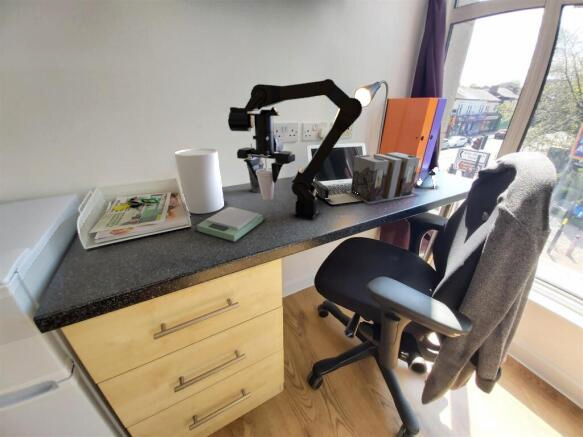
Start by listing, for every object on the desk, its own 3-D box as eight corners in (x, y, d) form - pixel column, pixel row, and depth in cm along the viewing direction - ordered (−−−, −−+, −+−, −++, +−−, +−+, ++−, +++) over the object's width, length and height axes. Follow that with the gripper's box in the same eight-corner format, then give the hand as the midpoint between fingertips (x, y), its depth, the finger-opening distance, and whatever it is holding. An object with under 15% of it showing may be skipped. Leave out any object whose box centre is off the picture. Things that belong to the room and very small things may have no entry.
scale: (263, 220, 78) (263, 212, 77) (234, 241, 66) (233, 233, 64) (229, 212, 83) (229, 205, 82) (197, 230, 71) (195, 222, 70)
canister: (188, 201, 93) (178, 149, 84) (224, 198, 96) (217, 147, 87) (183, 215, 81) (170, 156, 72) (224, 211, 84) (216, 154, 75)
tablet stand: (418, 182, 116) (422, 165, 113) (436, 185, 112) (441, 167, 109) (415, 186, 110) (419, 169, 106) (434, 190, 106) (439, 171, 102)
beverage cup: (262, 193, 101) (259, 145, 92) (246, 192, 103) (242, 144, 94) (267, 188, 108) (265, 142, 99) (252, 187, 109) (248, 142, 100)
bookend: (416, 195, 100) (425, 156, 93) (368, 203, 91) (375, 161, 84) (389, 184, 113) (395, 150, 106) (345, 191, 104) (349, 154, 97)
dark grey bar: (311, 180, 103) (326, 190, 90) (317, 179, 104) (333, 189, 91) (310, 191, 105) (325, 202, 92) (317, 190, 106) (332, 201, 93)
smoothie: (269, 203, 77) (266, 160, 71) (254, 199, 80) (250, 158, 74) (280, 196, 82) (278, 156, 76) (265, 193, 85) (262, 154, 79)
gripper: (302, 131, 75) (301, 178, 82) (254, 128, 82) (256, 172, 89) (286, 134, 66) (286, 188, 73) (233, 131, 73) (238, 180, 80)
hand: (266, 181), depth 79 cm, fingers closed on smoothie, 6 cm apart
